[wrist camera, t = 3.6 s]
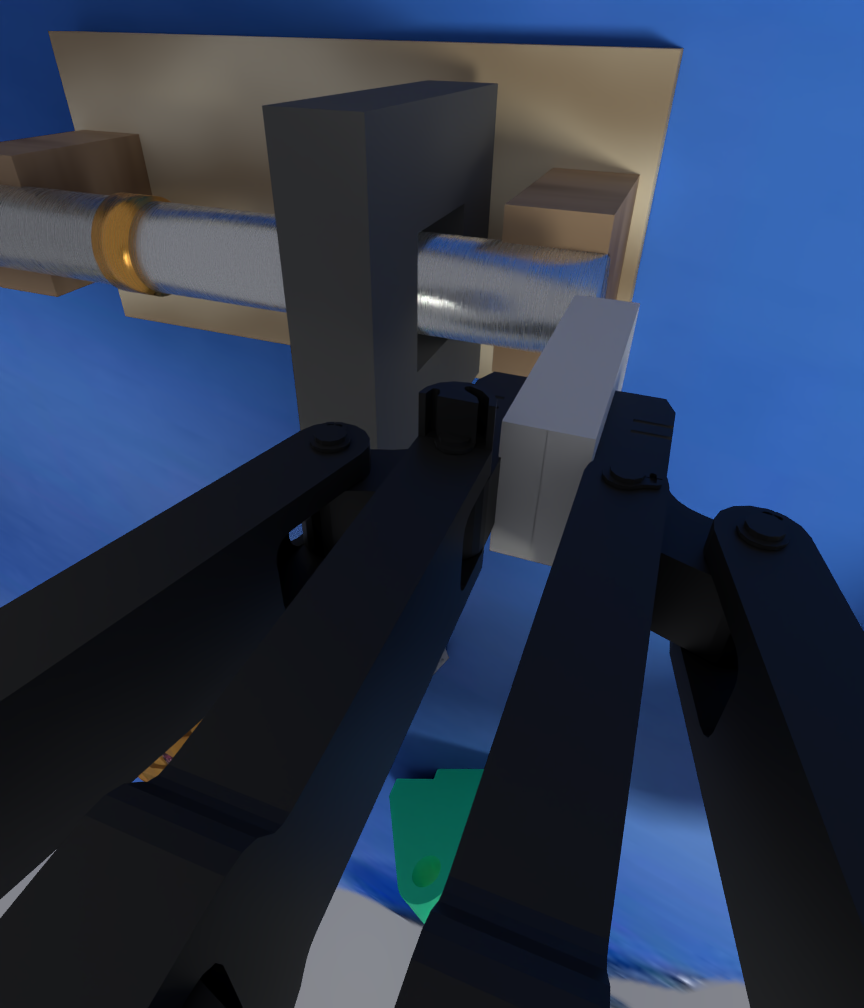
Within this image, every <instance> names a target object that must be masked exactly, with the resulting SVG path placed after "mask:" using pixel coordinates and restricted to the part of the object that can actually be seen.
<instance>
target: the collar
mask: <svg viewBox="0 0 864 1008" xmlns="http://www.w3.org/2000/svg"><path fill="white" fill-rule="evenodd" d="M497 93H498V83H479V82H458V81H436V80H426V81H419V82H413V83H406V84H400V85H393V86H387V87H380V88H374V89H367V90H361V91H354V92H348V93H341V94H335V95H328V96H322V97H315V98H309V99H302V100H295V101H289V102H282V103H276V104H269V105H263V106H262V111H263V119H264V128H265V136H266V144H267V153H268V161H269V170H270V178H271V186H272V195H273V203H274V212H275V220H276V228H277V237H278V245H279V254H280V262H281V270H282V279H283V287H284V296H285V304H286V312H287V321H288V329H289V337H290V346H291V354H292V363H293V371H294V379H295V388H296V396H297V405H298V413H299V421H300V430H303V429H305V428H308V427H310V426H313V425H316V424H322V423H326V422H343V423H347V424H351V425H355V426H357V427H359V428H361V429H363V430H364V431H366V433H367V435H368V436H369V438H370V449H387V450H397V449H408V448H409V447H410V446H411V444H412V443H413V442H414V441H415V439H416V438H417V437H418V411H419V392H420V391H421V390H422V389H424V388H425V387H427V386H430V385H433V384H436V383H440V382H451V381H457V382H468V383H471V382H472V381H473V380H474V378H475V377H476V376H477V374H478V373H479V365H480V350H481V344H478V343H472V342H466V341H460V340H453V339H447V338H441V337H435V336H428V335H422V334H417V306H418V233H419V232H421V231H425V232H434V233H442V234H451V235H460V236H469V237H478V238H486V239H488V229H489V214H490V199H491V184H492V169H493V154H494V138H495V123H496V108H497Z"/></svg>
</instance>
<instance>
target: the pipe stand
mask: <svg viewBox="0 0 864 1008" xmlns="http://www.w3.org/2000/svg"><path fill="white" fill-rule="evenodd" d="M48 33H49V36H50V40H51V44H52V47H53V51H54V55H55V59H56V62H57V66H58V70H59V73H60V77H61V81H62V84H63V88H64V92H65V95H66V99H67V103H68V106H69V110H70V114H71V117H72V121H73V125H74V128H75V131H71V132H65V133H58V134H51V135H44V136H38V137H31V138H24V139H17V140H11V141H4V142H0V185H9V186H18V187H25V186H29V187H39V188H48V189H56V190H65V191H74V192H83V193H92V194H100V195H109V196H110V195H112V194H115V193H120V192H122V193H133V194H142V195H151V196H159V197H163V198H165V199H167V200H169V201H170V202H172V203H179V204H188V205H197V206H206V207H214V208H223V209H232V210H241V211H249V212H258V213H267V214H275V212H274V203H273V195H272V186H271V178H270V170H269V161H268V153H267V144H266V136H265V128H264V119H263V111H262V106H263V105H269V104H276V103H282V102H289V101H295V100H302V99H309V98H315V97H322V96H328V95H335V94H341V93H348V92H354V91H361V90H367V89H374V88H380V87H387V86H393V85H400V84H406V83H413V82H419V81H426V80H436V81H458V82H479V83H498V93H497V108H496V123H495V138H494V154H493V169H492V184H491V199H490V214H489V229H488V239H495V240H502V242H505V243H514V244H523V245H532V246H540V247H549V248H558V249H566V250H575V251H584V252H593V253H601V254H608V256H609V257H610V268H609V276H608V283H607V289H606V294H605V299H612V300H619V301H627V302H632V298H633V293H634V288H635V283H636V278H637V273H638V268H639V264H640V259H641V254H642V249H643V244H644V239H645V234H646V229H647V224H648V220H649V215H650V210H651V205H652V200H653V195H654V190H655V185H656V180H657V176H658V171H659V166H660V161H661V156H662V151H663V146H664V141H665V136H666V132H667V127H668V122H669V117H670V112H671V107H672V102H673V97H674V92H675V87H676V83H677V78H678V73H679V68H680V63H681V58H682V53H683V48H651V47H616V46H581V45H545V44H510V43H475V42H439V41H404V40H368V39H333V38H298V37H262V36H227V35H192V34H156V33H121V32H86V31H48ZM92 283H94V282H92V281H86V280H80V279H73V278H67V277H61V276H55V275H49V274H42V273H36V272H30V271H24V270H17V269H11V268H5V267H0V286H1V287H3V288H9V289H15V290H20V291H26V292H32V293H38V294H44V295H49V296H55V297H59V296H61V295H64V294H66V293H69V292H71V291H74V290H76V289H79V288H82V287H84V286H87V285H89V284H92ZM118 290H119V294H120V297H121V301H122V305H123V309H124V312H125V316H128V317H134V318H139V319H145V320H151V321H156V322H162V323H168V324H173V325H179V326H185V327H190V328H196V329H202V330H208V331H213V332H219V333H225V334H230V335H236V336H242V337H247V338H253V339H259V340H264V341H270V342H276V343H281V344H287V345H290V337H289V329H288V321H287V313H285V312H279V311H273V310H267V309H260V308H254V307H248V306H242V305H235V304H229V303H223V302H217V301H210V300H204V299H198V298H192V297H186V296H179V295H173V294H171V295H169V296H164V297H158V296H152V295H146V294H140V293H134V292H128V291H123V290H120V289H118ZM540 355H541V353H534V352H528V351H522V350H516V349H509V348H503V347H497V346H491V345H485V344H481V350H480V365H479V373H478V374H477V376H476V377H475V378H482V377H484V376H486V375H488V374H490V373H492V372H494V371H495V372H501V373H507V374H513V375H518V376H524V377H528V375H529V374H530V372H531V370H532V368H533V367H534V365H535V363H536V362H537V360H538V358H539V356H540Z"/></svg>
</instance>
